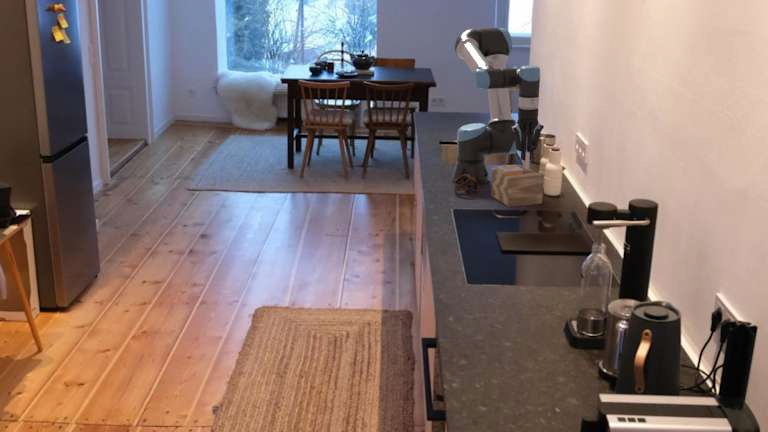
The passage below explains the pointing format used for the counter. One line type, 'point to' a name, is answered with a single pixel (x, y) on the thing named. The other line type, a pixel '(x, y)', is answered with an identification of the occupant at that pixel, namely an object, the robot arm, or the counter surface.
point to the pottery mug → (466, 183)
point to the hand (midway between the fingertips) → (525, 168)
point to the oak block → (517, 187)
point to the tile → (510, 170)
